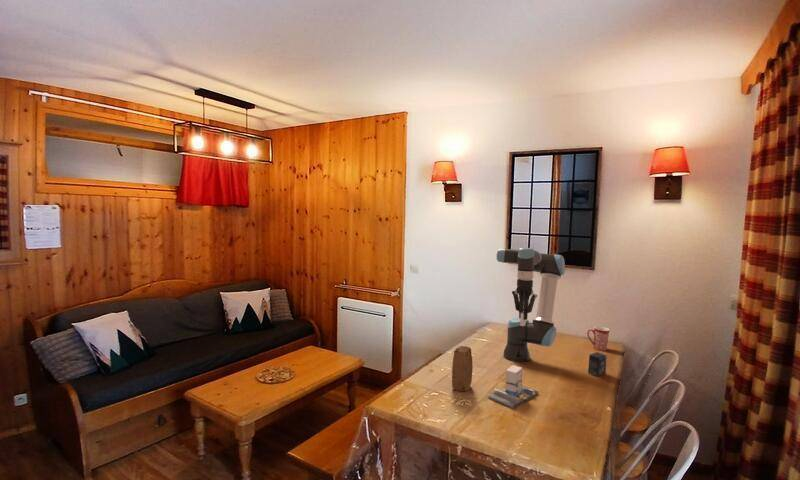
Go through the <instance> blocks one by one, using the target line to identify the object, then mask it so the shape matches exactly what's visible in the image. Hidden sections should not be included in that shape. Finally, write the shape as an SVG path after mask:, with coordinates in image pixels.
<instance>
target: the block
mask: <svg viewBox="0 0 800 480" xmlns="http://www.w3.org/2000/svg"><path fill="white" fill-rule="evenodd" d="M473 366H474V365H473V355H472V348H471V347H470V346H465V345H459V346H457V347H456V348H455V349H454V351H453V357H452V367H451V369H452V370H451V371H452V372H451V388H452V389H453V390H455V391H458V392H466V391H469V389H470V387H471V384H472V380H473Z"/></svg>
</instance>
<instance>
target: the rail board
mask: <svg viewBox="0 0 800 480" xmlns="http://www.w3.org/2000/svg"><path fill="white" fill-rule="evenodd" d="M538 395H539V391H538V390H535V389H532V388H531V387H528V386H525V385H522V392H521V393H520V394H518V395H517V396H513V395H511V394H508V393H506V386H504V387H502V388H500V389H498V388H496V387H495V388H494V389H493V392H492V393H490V394H489V395H487V398H488V399H490V400H492V401H495V402H497V403H499V404H501V405H504V406H506V407H508V408H510V409H513V410H514V409H515V408H517V407H519V406H521V405H522V404H524V403H526V402H528V401H529V400H531V399H532V398H534V397H535V396H538Z"/></svg>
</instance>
